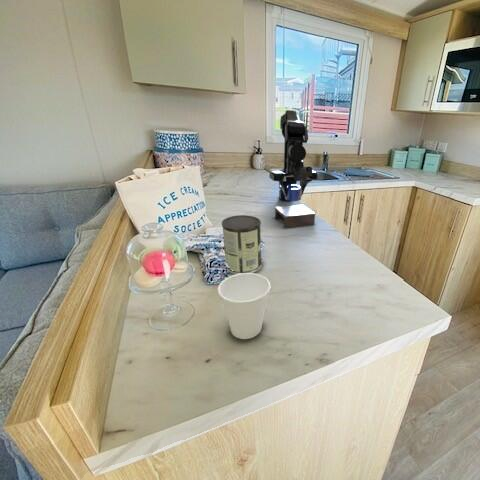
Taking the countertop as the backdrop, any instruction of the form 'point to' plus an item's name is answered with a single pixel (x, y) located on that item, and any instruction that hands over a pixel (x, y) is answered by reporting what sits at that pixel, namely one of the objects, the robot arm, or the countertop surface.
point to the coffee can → (242, 243)
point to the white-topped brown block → (295, 215)
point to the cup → (244, 302)
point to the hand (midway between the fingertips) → (293, 196)
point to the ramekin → (293, 192)
